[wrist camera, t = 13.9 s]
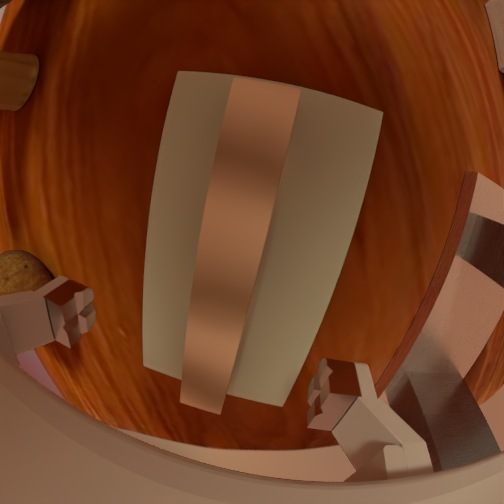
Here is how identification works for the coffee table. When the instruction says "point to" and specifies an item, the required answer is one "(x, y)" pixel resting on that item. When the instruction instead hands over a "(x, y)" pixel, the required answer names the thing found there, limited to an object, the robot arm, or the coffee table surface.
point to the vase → (17, 79)
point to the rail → (234, 233)
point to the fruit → (21, 272)
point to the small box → (497, 28)
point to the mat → (279, 236)
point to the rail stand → (453, 334)
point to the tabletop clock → (4, 2)
